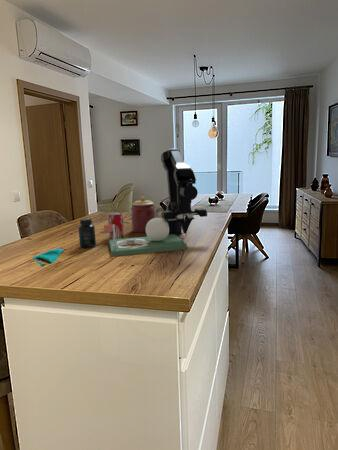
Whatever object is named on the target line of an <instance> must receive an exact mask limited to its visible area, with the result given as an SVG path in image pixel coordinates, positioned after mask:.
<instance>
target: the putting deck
mask: <svg viewBox="0 0 338 450" xmlns="http://www.w3.org/2000/svg"><path fill="white" fill-rule="evenodd" d="M103 229H104V231H103V232H104V233H105V232H109V231H113V239H109V240H108V242H109V249H110V253H111V254H110V255H111V256H112V257H115V256H116V257H117V256H126V255H127V256H128V255H135V254H136V255H137V254H149V253H159V252H160V253H161V252H168V251H171V252H172V251H177V250H178V251H180V250H188V245H187V243H186V242H184V241H183V239H181V238H180V237H179V236H178V234H176V235H175V234H172V235H169V234H168V236H167V237H166V238H165V239H164V240H162V241H153V240H151V239H150V238H149V237H148V236H139V237H138V236H136V237H127V238H125V237H123V238H122V239H115V225H109V224H104V225H103ZM127 245H139V246H127Z"/></svg>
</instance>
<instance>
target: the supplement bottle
mask: <svg viewBox="0 0 338 450" xmlns="http://www.w3.org/2000/svg"><path fill="white" fill-rule="evenodd" d="M92 223H93V220H92V218H82V219H81V218H80V220H79V224H80V225H79V226H78V238H79V246H80V248H81V249H91V248H94V247H96V245H97V242H96V240H97V239H96V230H95V229H96V228H95V226H94V224H92Z"/></svg>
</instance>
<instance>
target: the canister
mask: <svg viewBox="0 0 338 450" xmlns="http://www.w3.org/2000/svg"><path fill="white" fill-rule="evenodd" d="M154 204H155V202H154V201H153V200H151V199H149V200H148V199H146V197H145V196H141V197H140V199H139V200H135V201H134V202H133V203H131V205H132V207H130V210H131V214H130V216H131V217H130V220H131V229H132V230H131V231H132V232H133V233H138V234H140V233H141V234H143V233H145V234H146V225H147V223H148V222H149V221H150V220H151V219H153V218H157V213H156V209H157V207H156V206H154Z"/></svg>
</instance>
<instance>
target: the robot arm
mask: <svg viewBox="0 0 338 450" xmlns="http://www.w3.org/2000/svg"><path fill="white" fill-rule="evenodd" d="M160 161H161V163H162V167H163V169H164V170H165V171H166V178H167V179H166V180H167V190H168V191H167V192H168V193H167V194H168V203H167V204H166V208H165V210H162V212H161V219H164V220H165V221H166V222H167V223H168V226H169V234H168V235H172V234H175V235H183V234H187V232H188V230H189V227H190V225H191V223H192V222H193V220H195V217H194V216H199V217H200V218H204V217H208V211H207V209H205V208H203V207H201V208H195V209H194V210H192V201H193V200H194V199H196V198H197V197H198V189H197V188H196V187H195V186H194V185H195V184H196V182H197V179H196V175H195V172H194V169H192V167H191V166H190V165H189V164H187V163H185V161H184V158H183V157H182V155H181V151H180V148H169V149H167V150H166V151H164V152H162V154H161V155H160ZM182 231H183V232H182Z"/></svg>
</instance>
